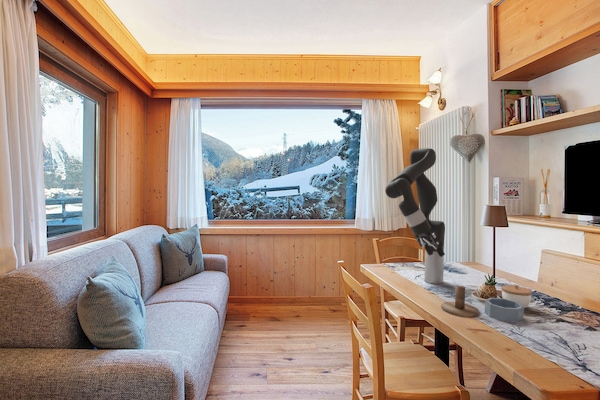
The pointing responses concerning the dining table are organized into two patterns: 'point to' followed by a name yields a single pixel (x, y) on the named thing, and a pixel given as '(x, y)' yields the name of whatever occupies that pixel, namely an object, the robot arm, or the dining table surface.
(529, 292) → the lidded jar
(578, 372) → the dining table surface
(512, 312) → the ceramic bowl
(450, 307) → the walnut lid
